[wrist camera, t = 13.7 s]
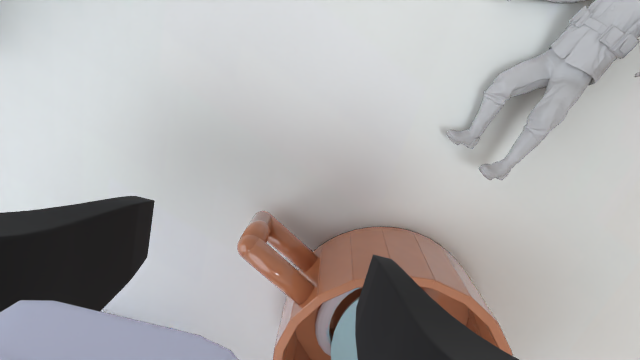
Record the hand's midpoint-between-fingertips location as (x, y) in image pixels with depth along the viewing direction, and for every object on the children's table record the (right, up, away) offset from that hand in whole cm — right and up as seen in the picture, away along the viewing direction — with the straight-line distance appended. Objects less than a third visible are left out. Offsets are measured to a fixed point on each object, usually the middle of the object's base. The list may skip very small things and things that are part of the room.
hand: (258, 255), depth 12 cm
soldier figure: (+13, +8, +7) cm, 17 cm away
